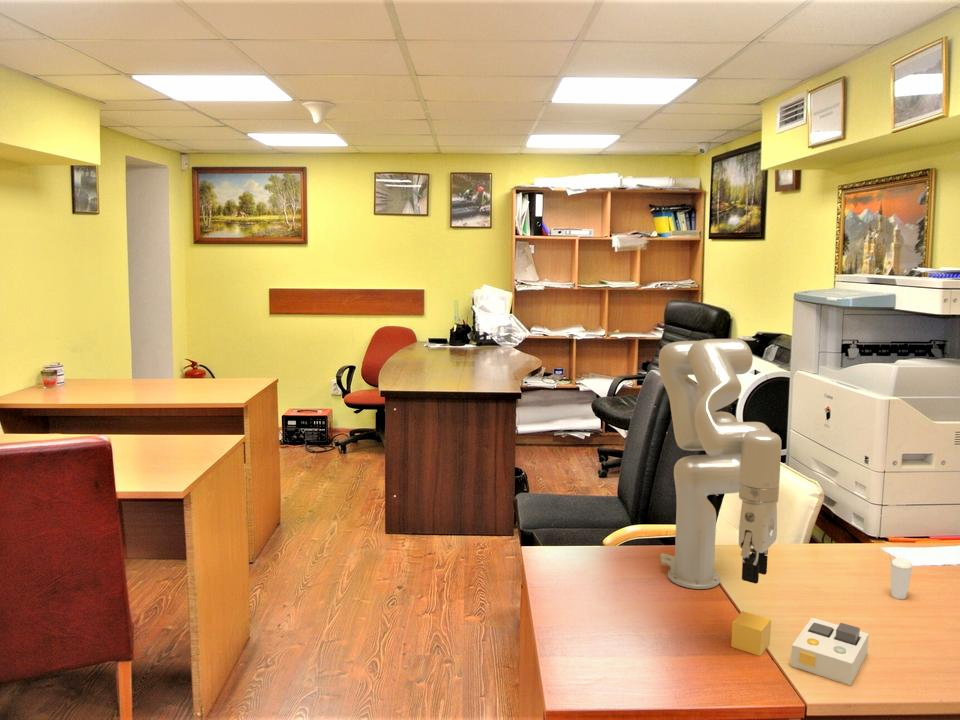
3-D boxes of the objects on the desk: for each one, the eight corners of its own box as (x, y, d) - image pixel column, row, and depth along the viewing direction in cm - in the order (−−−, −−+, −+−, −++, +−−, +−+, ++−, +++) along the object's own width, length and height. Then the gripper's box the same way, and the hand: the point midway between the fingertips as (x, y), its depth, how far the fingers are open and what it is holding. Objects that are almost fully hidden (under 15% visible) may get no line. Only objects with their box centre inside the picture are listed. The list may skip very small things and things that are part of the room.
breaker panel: (790, 666, 151) (791, 644, 150) (810, 637, 162) (811, 616, 162) (850, 686, 144) (852, 662, 144) (867, 654, 156) (868, 632, 155)
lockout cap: (731, 646, 159) (732, 622, 158) (741, 634, 163) (742, 610, 163) (760, 656, 155) (761, 631, 154) (769, 643, 160) (771, 619, 159)
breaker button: (834, 648, 153) (836, 629, 153) (839, 640, 156) (840, 622, 155) (854, 654, 151) (855, 635, 150) (858, 646, 154) (859, 628, 153)
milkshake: (880, 592, 182) (883, 553, 181) (901, 591, 183) (905, 552, 181) (892, 601, 178) (895, 560, 176) (914, 600, 178) (917, 560, 177)
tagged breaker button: (808, 647, 157) (809, 629, 156) (813, 640, 159) (814, 622, 159) (826, 653, 154) (828, 634, 154) (831, 645, 157) (832, 627, 156)
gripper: (763, 507, 145) (759, 597, 148) (790, 484, 158) (785, 567, 161) (725, 499, 150) (721, 586, 153) (754, 478, 163) (749, 558, 166)
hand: (754, 576), depth 157 cm, fingers open, 4 cm apart
